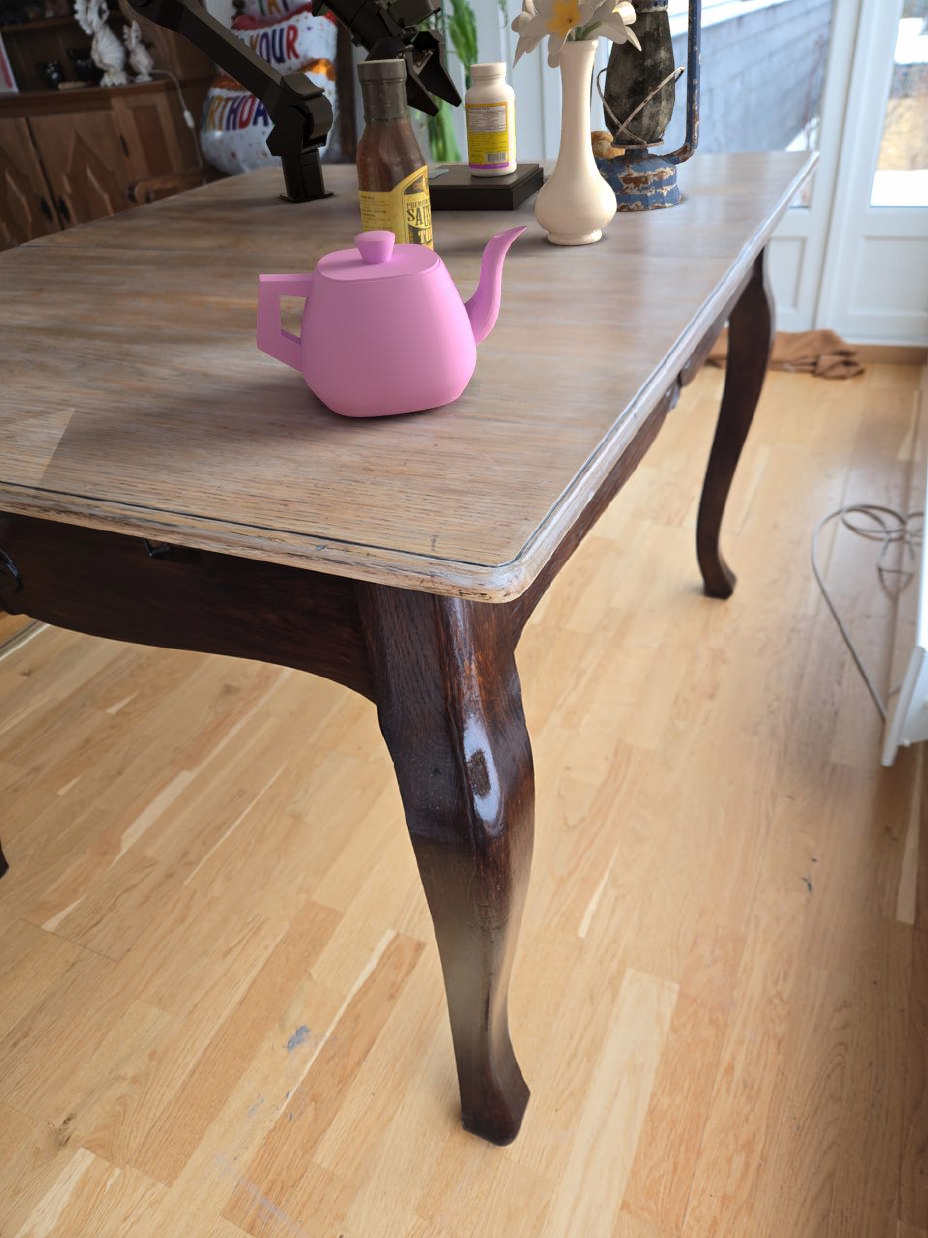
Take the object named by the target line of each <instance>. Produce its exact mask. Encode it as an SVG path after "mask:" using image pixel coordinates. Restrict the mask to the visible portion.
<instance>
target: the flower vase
mask: <svg viewBox="0 0 928 1238" xmlns="http://www.w3.org/2000/svg"><path fill="white" fill-rule="evenodd" d="M631 2H632V1H631V0H522V3H521V12H520V14H518V15H517V16H515V18H514V19H513V20H512V22H511V24H510V29H511V30H512V32H514V33H518V36H519V37H518V40H517V42H516V43H517V44H516V48H515V52H514V59H513V64H512V70H514V69H515V66H516V65H517V64H518V62H519V61H520V59H521V58H522V56H523V55H524V53H526V54H532V53H533V51H534V50H535V49H536V48H537V47H538V46H539V44H540V43H541V42H542V41H543V40H544V39H545V38H546V37H547V36H548V35H549V37H548V39H547V51H548V55H547V65H548V67H549V68H551V69H556V68H558V67H559V72H560V78H561V80H560V81H561V119H560V121H561V124H560V138H559V139H560V141H559V142H560V143H559V149H558V154H557V158H556V161H555V164H554V167H553V170H552V172H551V175H550V176H549V178H548V179H547V181H546V182H544V186H543V187H541V188H540V189H539V190H538V193H537V195H536V197H535V199H534V203H533V215H534V218H535V220H536V222H537V223H538V224H539V226H540V227H541V228H542V229H543V230H545V231H547V232H548V233H547V240H548V241H549V242H550V243H551V244H555V245H560V246H581V245H588V244H592V243H595V242H597V241H599V240H601V238H602V236H603V232H602V229H604V228H606V227H607V226H608V225H609V224H610V222H611V221H612V219H613V218H614V216H615V215H616V213H617V211H616V210H617V202H616V197H615V194H614V192H613V190H612V189H611V187H610V185H609V184H608V183H607V182H606V180H605V179H604V178H603V177H602V176H601V174H600V173H599V171H598V168H597V166H596V163H595V160H594V156H593V152H592V145H591V132H592V130H591V112H590V86H591V75H592V68H593V65H594V66H595V57H596V53H597V49H598V47H599V45H600V42H599V37H603V38H605V39H608V40H609V41H611V42H612V43H613V42H615V43H618V44H624V43H625V42H626V40H627V39H628V40H629V41H630V42H631V43H632V44H633V45H634V46H635V47H636V48H637V49H638V50H640V51H641V47H640V44H639V42H638V39H637V37H636V35H635V34H634V32H633V31H632V30H631V29H630V28H629V27H626V26H625V25H628V24H632V23H634V22H635V20H636V14H635V10H634V8H633V6H632V5H631ZM594 56H595V57H594Z"/></svg>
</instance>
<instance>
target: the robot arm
mask: <svg viewBox="0 0 928 1238" xmlns="http://www.w3.org/2000/svg"><path fill="white" fill-rule="evenodd" d="M310 1H311V2H310V10H311V11H310V12H311V16H312V17H313V18H320V17H324V16H327V15H328V13H329V12H331V13H332V15H333V16H334V17H335V18H336V19H337V20H338V21H339V23H340V24H342V26H343V27H344V28H345V29H346V30H347V31H348V32H349V33H350V34H351V36H352V39H351V40H350V42H351V43H352V44H353V46H354V47H355V48H360V47H362V48H363V49H364V50H365V51H366V52H367V53H368V54H367V56H366V57H365V59H364V60H363V62H365V61H374V60H388V59H404V60H405V65H406V73H407V78H406V81H405V87H406V99H407V107H411V108H413V109H414V110H417V111H418V112H419V111H420V112H422V113H424V114H426V115H429V116H431V117H433V118H434V117H436V116H437V115H438V114H439V112H440V108H439V106H438V104H437V103H436V101H435V99H434V98H433V97H432V95H433V96H435V97H437V98H439V99H440V100H442V101H444V102H445V103H447V104H449V105H451V106H453V107H455V108H459V107H460V106H461V105H462V103H463V99H462V97H461V95H460V93H459V91H458V89H457V87H456V85H455V83H454V81H453V79H452V76H451V75H450V73H449V71H448V69H447V66H446V64H445V51H446V49H447V47H446V42H447V39H446V37H444V35H442V34H441V32H440V31H439V30H438V29H437V28H434V29H433V28H432V29H424V30H421V29H420V28H419V27H418V25H420V24H421V23H423V22H425V20H427V19H428V18H430V17H432V16H433V15H434V14H435V15H437V14H439V13H440V12H441V11H443V10H444V8H443V7H444V6H443V5H442V2H441V0H395V1H394V0H310ZM126 2H127V4H128V6H129V8H131V9H132V11H133V12H135V13H136V14H138V15H139V16H141V17H143V18H144V19H147V20H148V21H149V22H151V23H153V24H155V25H156V26H160V27H163V28H164V29H168V30H170V31H173V32H175V33H178V34H180V35H181V36H182V37H183V38H185V40H187V41H188V42H189V43H191V44H192V45H193V46H194V47H196V48H197V49H198V50H199V51H200V52H201V53H202V54H204V55H205V56H206V57H207V58H208V59H209V60H211V61H212V62H213V63H215V64H216V65H217V66H218V67H220V68H221V69H222V70H223V71H224V72H225V73H227V74H228V75H229V76H230V77H231V78H233V80H235V81H236V82H237V83H239V84H240V85H241V86H242V87H244V88H245V89H246V90H247V91H248V92H249V93H250V94H252V95H253V96H254V97H255V98H257V100H259V101H260V103H261V105H263V108H264V110H265V112H266V114H267V116H268V118H269V120H270V121H271V123H273V124H274V126H273V127H272V129H271V130H270V132H269V134H268V136H267V137H266V139H265V144H266V147H267V149H268V151H269V153H270V156H271V157H280V161H281V166H282V167H281V168H282V173H283V179H284V185H285V192H280V193H278V195H279V198H281V199H284V200H287V201H290V202H291V203H292V202H293V203H300V202H306V201H311V200H312V201H313V200H317V199H321V198H322V199H323V198H327V197H328V198H329V197H333V196H335V193H334V191H331V190H329V189H326V188H325V182H324V175H323V169H322V161H321V155H320V149H319V148H324V147H326V146H327V143H328V135H329V132H330V131H331V129H332V127H333V124H334V112H333V105H332V102H331V101H330V99H329V98H328V97H327V96H326V95H325V94H323V93H325V92H326V89H325V88H324V87H319V86H318V85H316V84H315V83H314V82H313V81H312V80H311V78H310V77H309V76H308V75H307V74H306V73H304V72H303V71H298V72H293V73H289V74H282V73H281V72H279V71H278V70H277V68H275V67H274V66H273V65H271V63H269V62H268V61H267V60H265V59H264V58H263V57H262V56H261V55H260V54H258V53H257V52H256V51H255V50H253V49H252V48H251V47H250V46H248V44H246V43H245V42H244V41H243V40H242V39H240V38H239V37H238V36H237V35H236V34H235V33H234V32H232V31H231V30H229V28H228V27H226V26H225V25H224V24H223V23H222V22H221V21H220V20H218V19H217V18H216V17H214V16H213V15H212V14H211V13H210V12H208V11H207V10H206V9H205V8H204V7H203V6H202V5H201V3H200V2H199V0H126ZM431 94H432V95H431Z"/></svg>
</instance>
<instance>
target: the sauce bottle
mask: <svg viewBox="0 0 928 1238" xmlns="http://www.w3.org/2000/svg"><path fill="white" fill-rule="evenodd" d="M356 71H357V80H358V83H359V85H360V88H361V96H362V107H363V120H364V123H365V126H364V129H363V133H362V135H361V138H360V140H359V141H358V143H357V144H358V145H357V149H356V154H355V157H356V158H355V165H356V172H357V179H358V180H357V181H358V187H357V193H358V200H359V208H360V216H361V226H362V233H364V232H370V231H389V232H392V233H394V234H395V241H394V244H408V243H409V244H419V245H423V246H426V247H428V248H430V249H432V250H433V251H434V240H433V228H432V213H431V210H430V200H429V188H428V174H427V173H428V165H427V161H426V159H425V156H424V154H423V151H422V149H421V146H420V144H419V142H418V139H417V137H416V134H415V131H414V129H413V125H412V124H411V121H410V113H409V111H408V105H407V99H406V87H405V81H406V78H407V73H406V65H405V60H404V59H388V60H374V61H365V62H364V61H359V62H357V63H356Z"/></svg>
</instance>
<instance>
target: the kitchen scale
mask: <svg viewBox="0 0 928 1238" xmlns="http://www.w3.org/2000/svg"><path fill="white" fill-rule="evenodd" d="M544 170H545V169H544V167H543V166H542V167H541V166H540V163H516V170H515V171H514V172H512V173H510V174H506V175H502V176H495V177H479V176H474V175H472V174H471V173H470V171H469V164H441V165H439V166H437V167H436V168H434V169H431V170H430V171H427V174H428V188H429V200H430V211H514V210H516V208H518V207H519V206H521V204H523V203H524V202H525V201H527V200H528V199H529V198H530V197H532V196H533V195H534V194H535V193H536V192H539V191H540V190H541V188H542V187H543V186H544V184H545V180H544V179H545V176H544V175H545V174H544V173H545V171H544Z"/></svg>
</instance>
